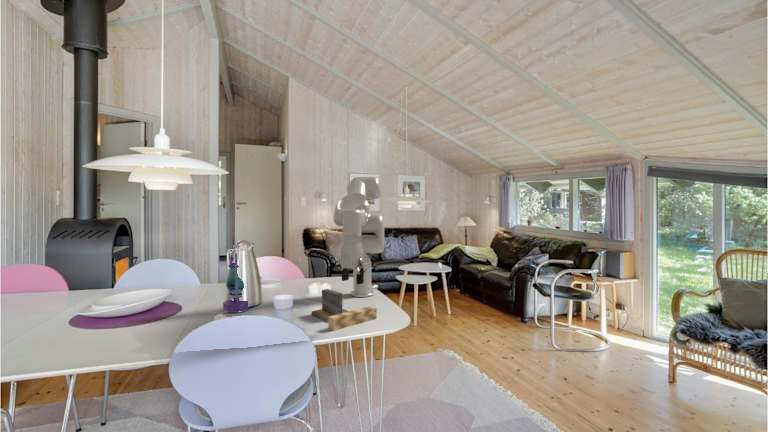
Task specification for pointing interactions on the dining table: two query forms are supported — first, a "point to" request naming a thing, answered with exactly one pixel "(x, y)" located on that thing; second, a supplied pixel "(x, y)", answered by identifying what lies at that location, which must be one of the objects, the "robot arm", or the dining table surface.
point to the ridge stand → (330, 304)
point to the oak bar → (352, 318)
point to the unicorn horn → (219, 316)
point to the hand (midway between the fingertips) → (352, 282)
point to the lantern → (234, 288)
